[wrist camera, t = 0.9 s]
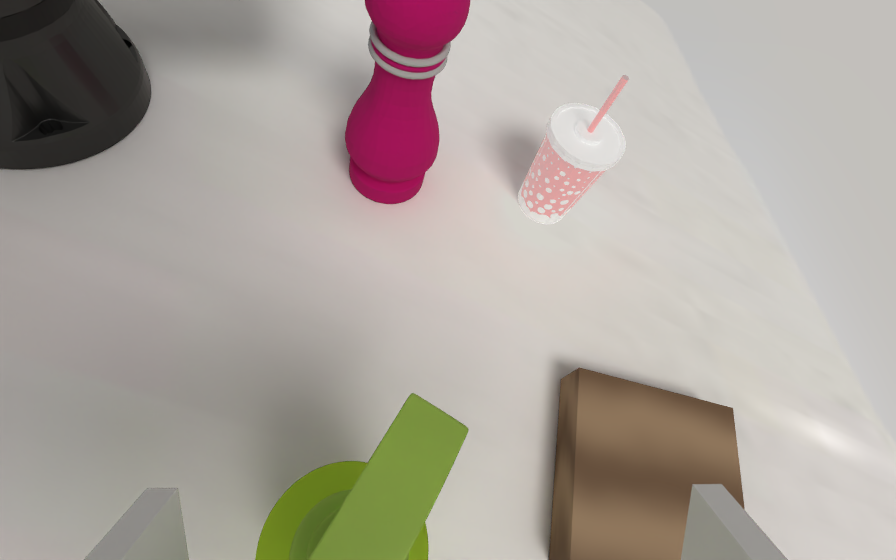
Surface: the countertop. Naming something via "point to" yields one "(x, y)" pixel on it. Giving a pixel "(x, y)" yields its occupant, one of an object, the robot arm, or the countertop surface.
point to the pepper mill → (401, 96)
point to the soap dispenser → (369, 496)
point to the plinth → (633, 467)
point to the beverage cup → (571, 158)
